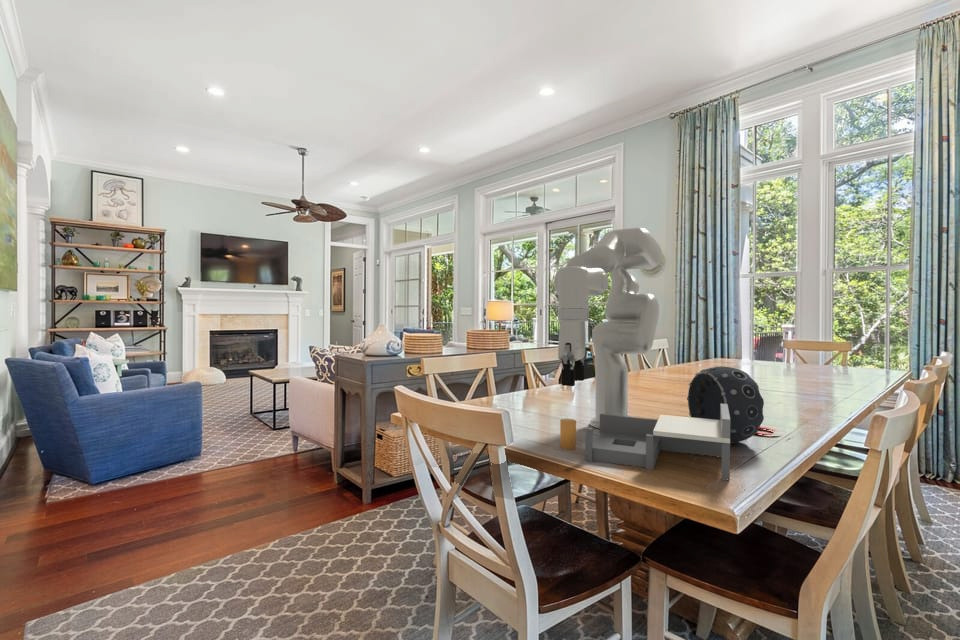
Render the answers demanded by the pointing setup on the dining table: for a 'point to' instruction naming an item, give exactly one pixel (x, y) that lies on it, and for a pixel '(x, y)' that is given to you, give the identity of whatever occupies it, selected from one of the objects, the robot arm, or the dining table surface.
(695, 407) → the studded black wheel
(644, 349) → the robot arm
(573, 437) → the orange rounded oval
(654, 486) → the dining table surface
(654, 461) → the housing
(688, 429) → the lid
